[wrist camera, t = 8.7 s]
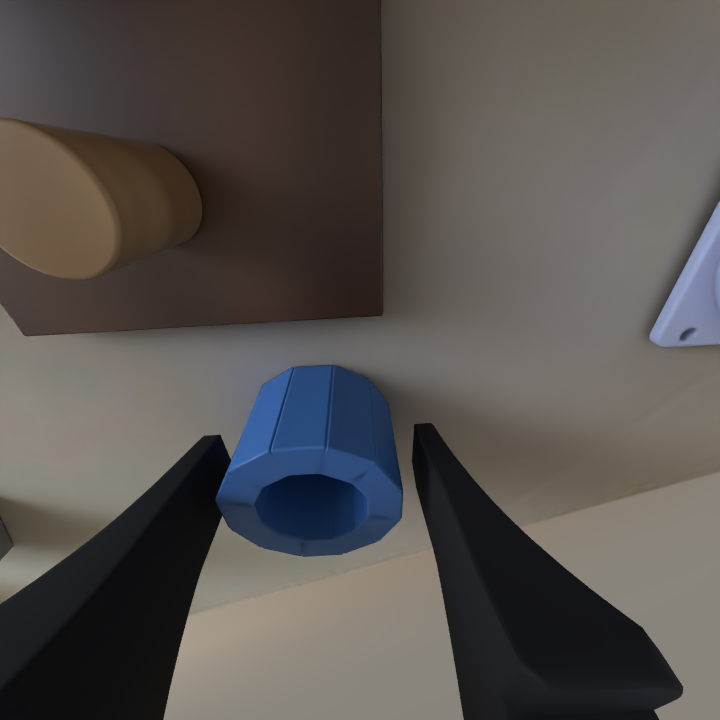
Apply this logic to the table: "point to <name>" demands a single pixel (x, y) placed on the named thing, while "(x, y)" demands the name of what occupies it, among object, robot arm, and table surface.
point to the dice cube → (4, 541)
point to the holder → (189, 163)
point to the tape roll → (314, 466)
